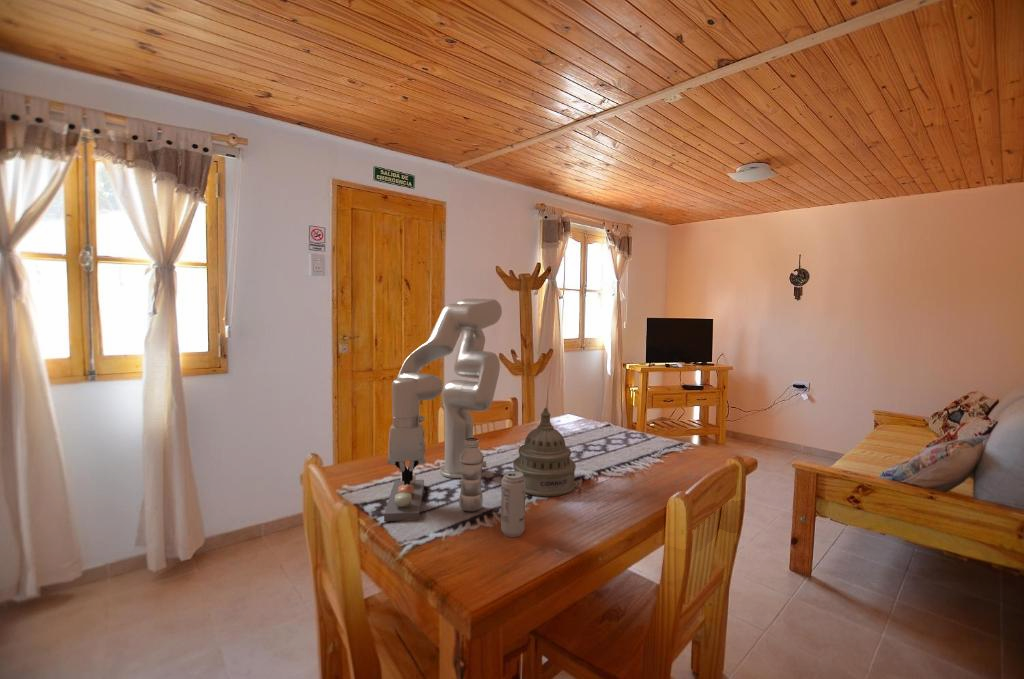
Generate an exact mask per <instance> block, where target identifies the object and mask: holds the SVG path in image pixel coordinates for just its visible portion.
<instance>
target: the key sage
mask: <svg viewBox="0 0 1024 679" xmlns="http://www.w3.org/2000/svg"><path fill="white" fill-rule="evenodd" d="M410 504H411V494H410V493H399V494H396V495H395V505H396V506H408V505H410Z"/></svg>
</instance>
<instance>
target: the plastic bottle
mask: <svg viewBox="0 0 1024 679" xmlns="http://www.w3.org/2000/svg"><path fill="white" fill-rule="evenodd" d="M479 445H480V443H479V438H477V437H473V438H466V439H465V447H466V448H465V449H464V451H463V452H462V454H461V456H460V465H461V476H462V478H461V486H460V493H459V497H458V504H459V508H460V509H461V510H463V511H465V512H476V511H479V510H480V509H481V508H482V506H483V502H484V498H483V493H482V492H483V490H482V472H483V467H482V466H483V461H484V455H483V453H482V451H481V450H480V448H479Z"/></svg>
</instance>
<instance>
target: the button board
mask: <svg viewBox="0 0 1024 679" xmlns="http://www.w3.org/2000/svg"><path fill="white" fill-rule="evenodd" d="M401 485H404V484H402V483H401V479H399V480H397V479H395V480H394V482H393V485H392V488H391V491H390V493H389V494H390V495H389V498H388V501H387V503H386V507H385V510H384V512H383V521H384V522H395V521H396V522H397V521H398V522H399V521H416V520H417V521H419V520H420V515H421V509H422V508H421V507H422V502H423V501H422V500H423V494H424V489H425V479H416V482H415V483H413V484H410V485H413V486H414V494H413V495H412V496H411V504H410V505H408V506H396V505H395V495H396V494H398V487H399V486H401Z"/></svg>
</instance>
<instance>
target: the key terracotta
mask: <svg viewBox="0 0 1024 679" xmlns="http://www.w3.org/2000/svg"><path fill="white" fill-rule="evenodd" d="M399 493H410V494H411V496H412V495H413V494H414V486H413V485H401V486H399V487H398V494H399Z"/></svg>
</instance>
